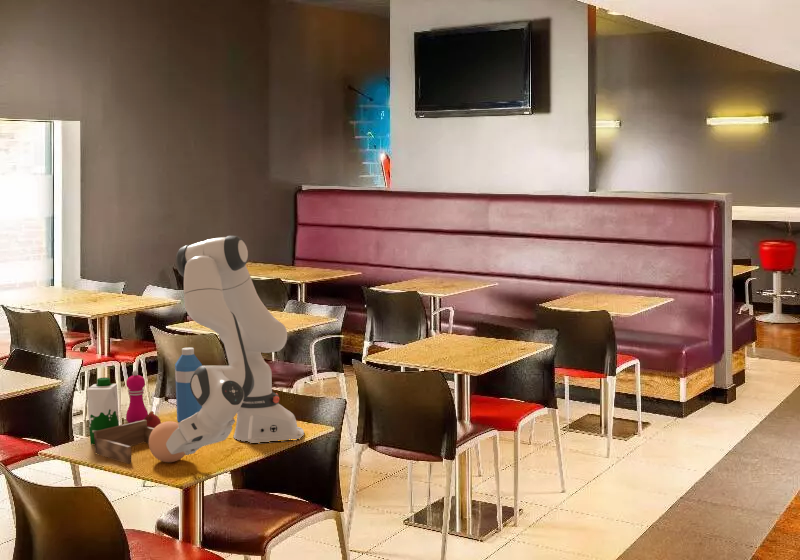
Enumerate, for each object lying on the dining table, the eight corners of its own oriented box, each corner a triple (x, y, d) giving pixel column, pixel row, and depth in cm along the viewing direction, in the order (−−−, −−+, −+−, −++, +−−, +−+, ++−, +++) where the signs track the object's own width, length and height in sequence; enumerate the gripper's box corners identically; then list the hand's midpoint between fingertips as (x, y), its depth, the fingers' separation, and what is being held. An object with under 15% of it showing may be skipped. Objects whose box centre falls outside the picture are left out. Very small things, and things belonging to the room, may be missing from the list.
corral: (178, 450, 320) (177, 427, 320) (128, 463, 307) (127, 440, 306) (145, 441, 332) (144, 419, 331) (95, 453, 318) (93, 431, 317)
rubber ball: (193, 455, 315) (191, 416, 313) (188, 466, 303) (186, 426, 302) (153, 456, 314) (151, 417, 313) (146, 468, 302) (144, 427, 301)
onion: (156, 438, 335) (155, 413, 334) (140, 437, 336) (138, 413, 335) (164, 433, 341) (163, 409, 340) (147, 432, 342) (146, 408, 341)
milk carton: (122, 437, 336) (119, 376, 334) (114, 445, 327) (111, 382, 325) (94, 438, 336) (91, 377, 334) (86, 445, 327) (83, 383, 325)
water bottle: (195, 415, 365) (192, 345, 362) (209, 420, 358) (207, 348, 355) (171, 420, 358) (168, 348, 356) (185, 424, 352) (183, 352, 349)
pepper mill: (137, 433, 341) (134, 373, 339) (121, 430, 345) (119, 371, 343) (153, 428, 347) (151, 369, 345) (138, 425, 351) (135, 367, 349)
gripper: (231, 408, 304) (211, 436, 311) (174, 422, 288) (155, 451, 296) (242, 426, 301) (221, 453, 309) (185, 441, 286) (165, 469, 293)
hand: (188, 452), depth 302 cm, fingers closed
